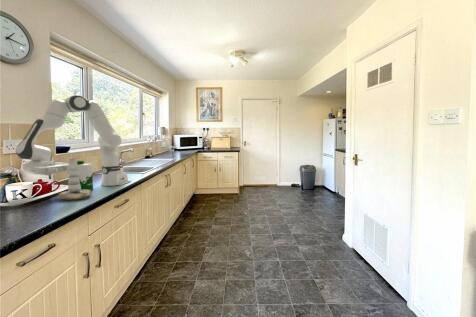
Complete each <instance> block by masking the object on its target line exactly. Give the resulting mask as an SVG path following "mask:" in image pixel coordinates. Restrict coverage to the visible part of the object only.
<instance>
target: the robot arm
mask: <svg viewBox="0 0 476 317" xmlns="http://www.w3.org/2000/svg"><path fill="white" fill-rule="evenodd" d="M80 112H83V113H85V115H86V116H87V119H88V120H89V122H90V124H91V126H92V128H93V130H94V131H95V132H96V133H97V134H98V135H99V136H98V137H97V138H98V139H97V141H98V145H99V150H100V153H101V161H102V162H101V163H102V166H101V172H102V173H101V182H100V186H104V187H109V186H111V187H112V186H122V185H125V184H128V183H130V182H132V180H131V179H128V178H129V177H128V174H127V173H126V172H124V171H123V170H121V169H123V168H124V166H123V165H119V163H120V162H119V154H118V152H117V148H118V147H119V146H120V145H121V144H122V138H121V136H120V135H119V134H118V132H116V130H115V128H114V127H113V126H112V125H111V123H110V122H109V120H108V117H107V116H106V114H105V112H104V110H103V108H102V107H101V106H100V104H99V103H98V102H97V101H96V100H88V99H87V98H86V97H85V96H83V95H81V94H73V95H69V97H66V99H64V100H63V99H58V98H57V99H53V100H52V99H51V101H50V103H49V105H48V106H47V108H46V110H45V112H44V115H43V116H42V117H41V118H39V119H38V118H37V119H36V120H35V121H34V122H33V123H32V125H31V127H30V128H29V129H28V131H27V133H26V134H25V136H24V137H23V139H22V141H21V142H20V143H19V144H18V145H17V147H16V148H15V155H17V157H19V158H18V159H21V160H22V159H23V160H28V161H29V160H31V161H29V162H27V161H25V162H26V163H25V162H24V163H25V164H24V163H23V170H24V171H25V172H26V173H28V174H30V175H40V176H52V175H54V174H56V173H61V172H65V171H66V172H67V166H68V165H69V164H70V163H69V162H68V163H67V162H61V161H52V160H53V152H52V150H51V149H50V147H45V146H43V145H37V144H34V143H35V142H36V140H37V138H38V137H39V135H40V134H41V132H43V131H46V130H58V129H60V128H62V127H63V125H64V123H65V120H66V119H67V115H68V114H69V113H80Z"/></svg>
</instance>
